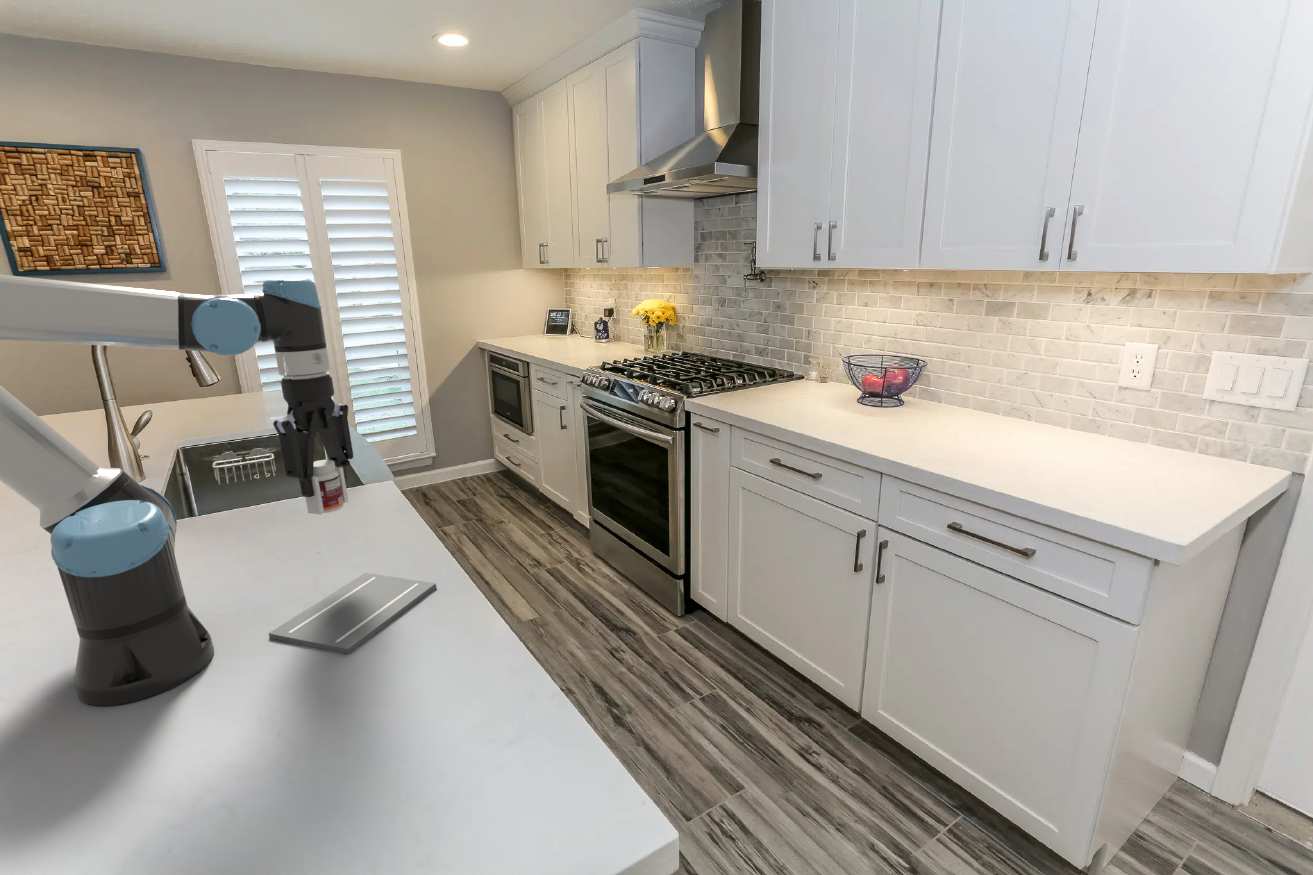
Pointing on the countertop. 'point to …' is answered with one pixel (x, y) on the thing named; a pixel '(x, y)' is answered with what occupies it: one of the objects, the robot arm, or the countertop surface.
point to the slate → (353, 612)
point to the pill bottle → (328, 485)
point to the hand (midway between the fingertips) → (328, 506)
